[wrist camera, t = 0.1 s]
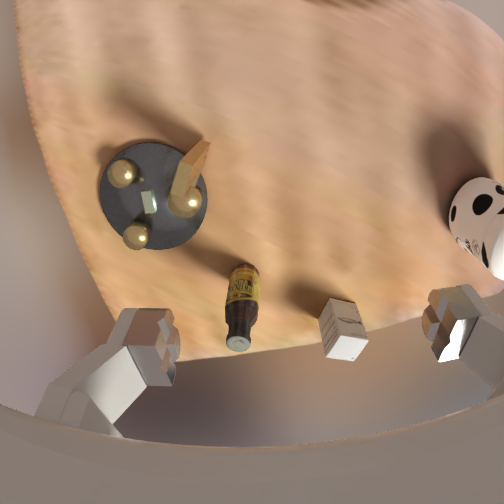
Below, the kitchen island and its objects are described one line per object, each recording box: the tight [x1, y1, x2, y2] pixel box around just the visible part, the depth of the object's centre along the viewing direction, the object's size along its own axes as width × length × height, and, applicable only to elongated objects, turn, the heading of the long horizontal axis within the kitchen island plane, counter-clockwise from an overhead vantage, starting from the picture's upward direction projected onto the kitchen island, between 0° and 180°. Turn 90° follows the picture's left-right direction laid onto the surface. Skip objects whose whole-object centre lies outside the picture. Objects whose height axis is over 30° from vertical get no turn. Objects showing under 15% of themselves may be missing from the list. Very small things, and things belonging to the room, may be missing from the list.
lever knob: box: [168, 140, 210, 218], centre depth 47 cm, size 14×6×16 cm, turn 159°
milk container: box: [449, 177, 504, 280], centre depth 49 cm, size 17×17×18 cm
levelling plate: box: [100, 142, 207, 250], centre depth 56 cm, size 22×22×4 cm
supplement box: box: [318, 298, 369, 361], centre depth 66 cm, size 7×7×13 cm
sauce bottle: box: [225, 264, 260, 352], centre depth 58 cm, size 7×6×20 cm
